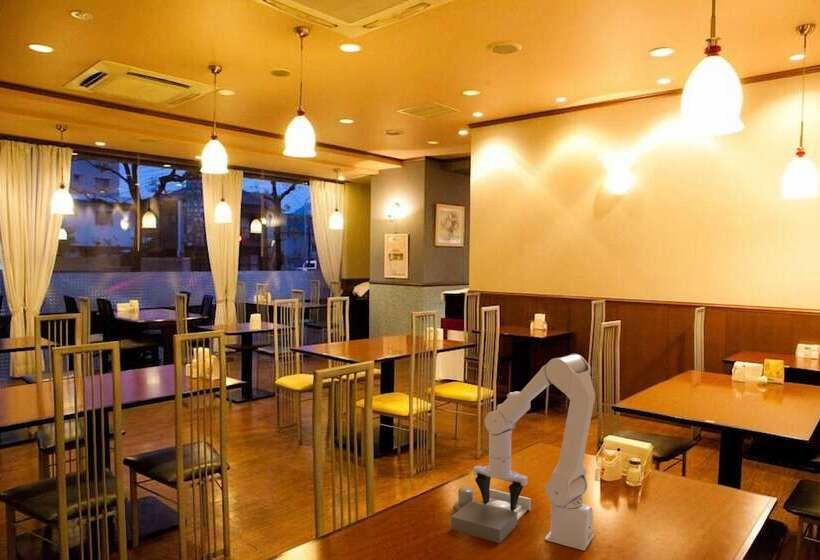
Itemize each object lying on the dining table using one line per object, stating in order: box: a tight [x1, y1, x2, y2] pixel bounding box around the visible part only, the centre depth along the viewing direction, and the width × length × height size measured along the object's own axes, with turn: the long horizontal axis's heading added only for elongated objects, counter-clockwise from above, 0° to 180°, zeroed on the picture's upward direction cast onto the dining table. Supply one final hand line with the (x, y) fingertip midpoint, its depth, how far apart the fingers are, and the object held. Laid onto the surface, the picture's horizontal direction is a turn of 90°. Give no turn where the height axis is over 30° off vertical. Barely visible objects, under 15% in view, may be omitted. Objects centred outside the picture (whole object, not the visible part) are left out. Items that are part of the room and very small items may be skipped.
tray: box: [482, 488, 532, 521], centre depth 153 cm, size 13×11×3 cm
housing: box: [450, 500, 518, 545], centre depth 144 cm, size 13×11×3 cm
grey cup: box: [454, 486, 474, 511], centre depth 156 cm, size 6×6×5 cm
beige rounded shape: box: [489, 500, 510, 510], centre depth 152 cm, size 6×6×2 cm
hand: (499, 506), depth 152 cm, fingers open, 7 cm apart
